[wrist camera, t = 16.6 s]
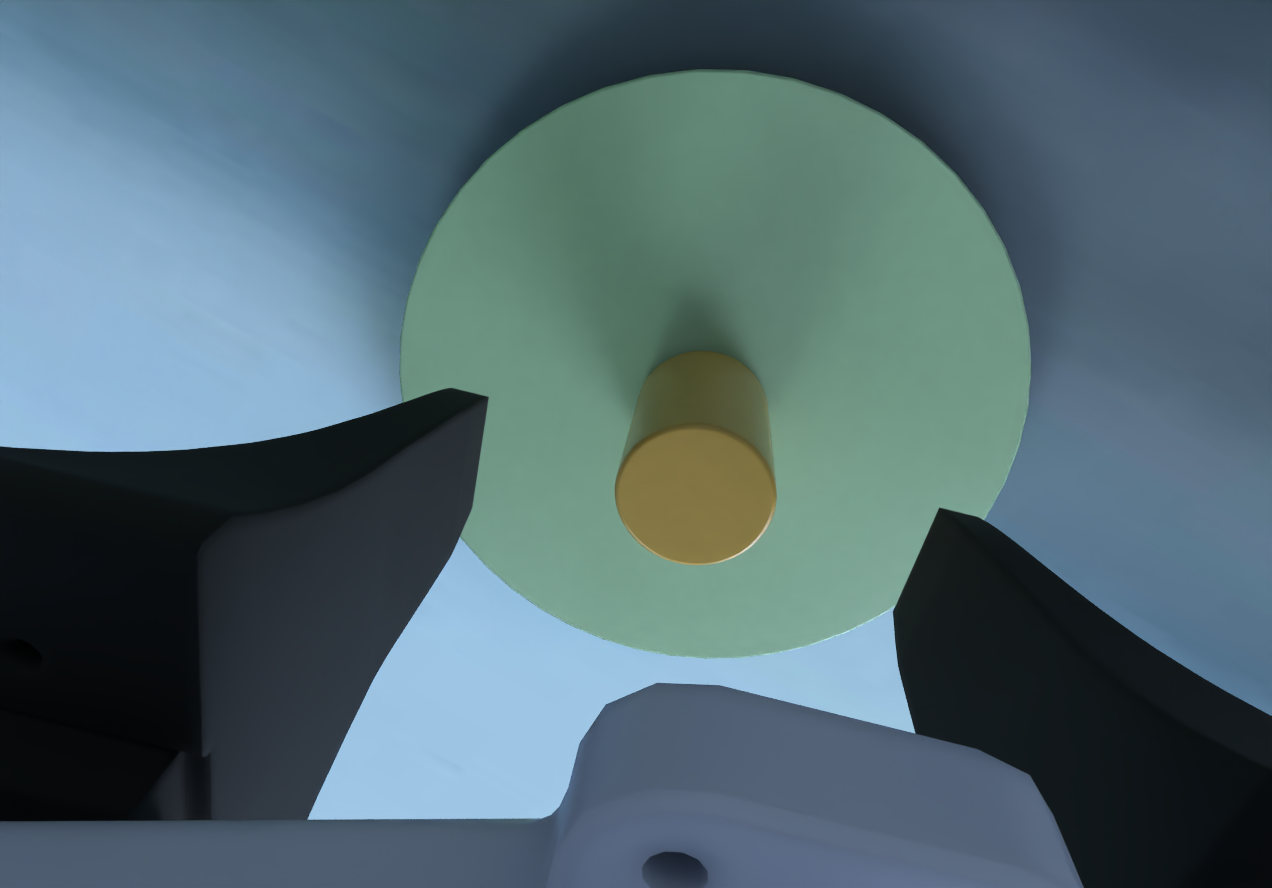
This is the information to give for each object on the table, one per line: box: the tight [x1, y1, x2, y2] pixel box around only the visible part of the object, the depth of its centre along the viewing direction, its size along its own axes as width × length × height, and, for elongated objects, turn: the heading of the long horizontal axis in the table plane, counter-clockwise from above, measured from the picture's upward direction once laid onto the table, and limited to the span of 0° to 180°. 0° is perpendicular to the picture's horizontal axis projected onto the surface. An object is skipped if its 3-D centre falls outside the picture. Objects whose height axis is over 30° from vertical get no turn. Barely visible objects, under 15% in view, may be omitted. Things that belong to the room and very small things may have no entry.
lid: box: [400, 69, 1032, 659], centre depth 15 cm, size 12×12×5 cm
